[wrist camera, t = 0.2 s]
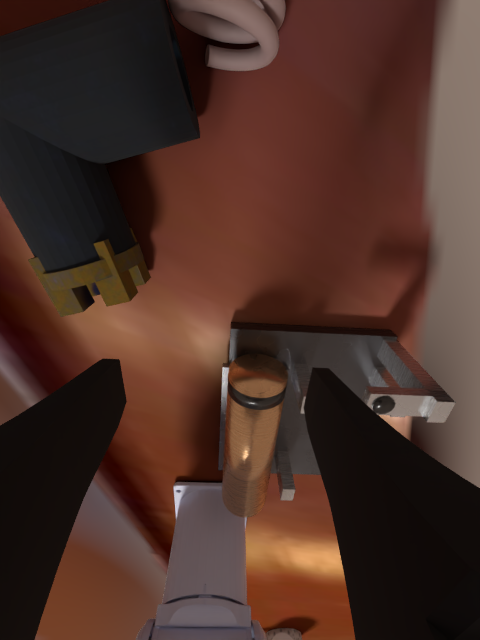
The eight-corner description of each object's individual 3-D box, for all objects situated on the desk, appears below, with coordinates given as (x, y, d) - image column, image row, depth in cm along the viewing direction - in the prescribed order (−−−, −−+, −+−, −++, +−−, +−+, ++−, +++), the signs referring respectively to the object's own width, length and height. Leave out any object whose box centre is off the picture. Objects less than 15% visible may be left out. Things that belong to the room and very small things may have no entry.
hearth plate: (341, 465, 29) (346, 480, 27) (218, 462, 28) (218, 476, 27) (390, 329, 21) (401, 340, 20) (224, 321, 21) (224, 332, 19)
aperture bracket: (390, 356, 21) (444, 422, 16) (332, 354, 21) (366, 419, 15) (396, 339, 20) (455, 402, 15) (336, 337, 20) (374, 399, 15)
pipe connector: (230, 282, 14) (-39, 342, 15) (231, 256, 19) (26, 303, 20) (142, -58, 9) (-249, 77, 10) (175, 24, 14) (-95, 109, 15)
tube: (264, 473, 27) (267, 518, 24) (222, 471, 27) (220, 516, 24) (284, 355, 21) (293, 393, 17) (229, 352, 21) (227, 390, 17)
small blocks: (350, 463, 27) (364, 502, 24) (275, 461, 27) (280, 500, 24) (387, 367, 22) (412, 400, 18) (294, 363, 21) (303, 396, 18)
